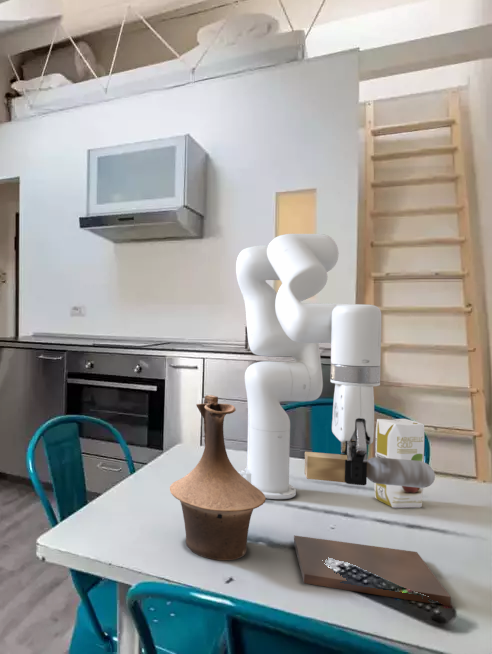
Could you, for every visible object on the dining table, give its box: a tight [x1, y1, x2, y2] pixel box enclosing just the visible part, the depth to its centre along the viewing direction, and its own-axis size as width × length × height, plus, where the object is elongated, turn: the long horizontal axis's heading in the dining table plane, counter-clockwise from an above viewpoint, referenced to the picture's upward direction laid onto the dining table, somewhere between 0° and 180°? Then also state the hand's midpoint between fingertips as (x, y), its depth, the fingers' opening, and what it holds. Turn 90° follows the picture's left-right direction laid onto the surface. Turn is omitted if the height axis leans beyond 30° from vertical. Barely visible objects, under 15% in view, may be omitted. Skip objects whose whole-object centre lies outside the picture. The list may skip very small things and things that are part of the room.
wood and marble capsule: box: [304, 451, 436, 489], centre depth 94 cm, size 20×4×4 cm, turn 71°
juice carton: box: [373, 418, 425, 509], centre depth 125 cm, size 8×9×19 cm
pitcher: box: [169, 394, 267, 561], centre depth 101 cm, size 18×17×28 cm
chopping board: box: [293, 535, 452, 607], centre depth 92 cm, size 20×16×2 cm
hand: (352, 479), depth 94 cm, fingers closed on wood and marble capsule, 3 cm apart
